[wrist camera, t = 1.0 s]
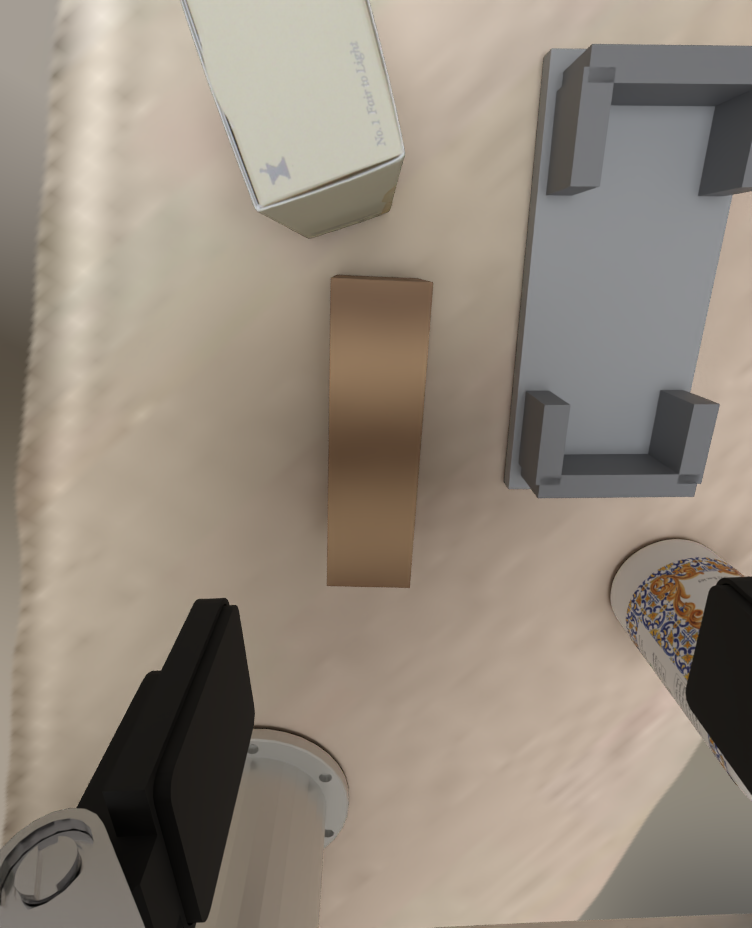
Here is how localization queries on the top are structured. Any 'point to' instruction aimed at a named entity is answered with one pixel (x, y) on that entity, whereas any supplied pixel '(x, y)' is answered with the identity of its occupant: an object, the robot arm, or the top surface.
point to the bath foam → (670, 613)
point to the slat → (375, 426)
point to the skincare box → (303, 106)
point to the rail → (625, 266)
